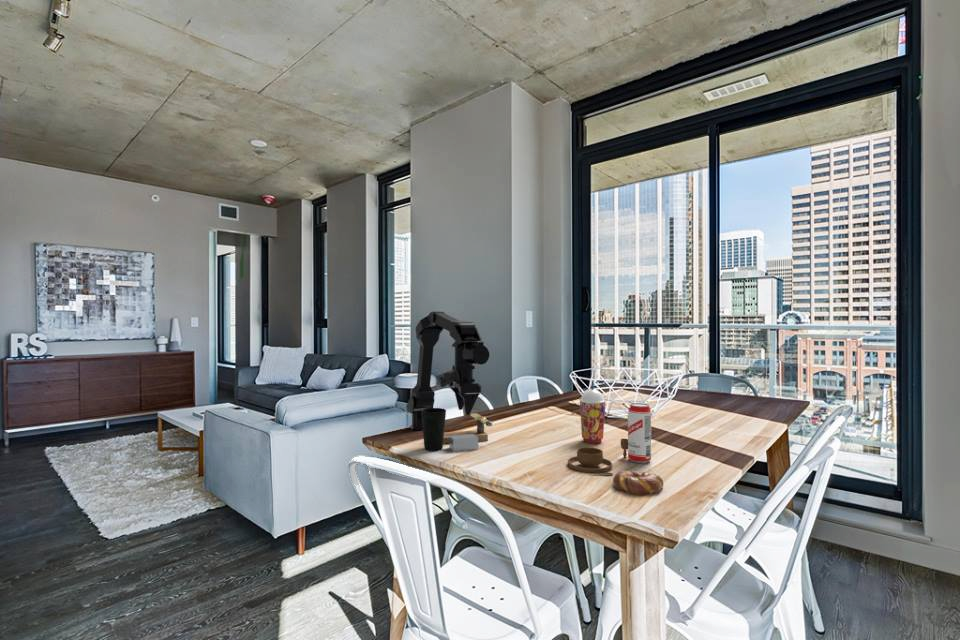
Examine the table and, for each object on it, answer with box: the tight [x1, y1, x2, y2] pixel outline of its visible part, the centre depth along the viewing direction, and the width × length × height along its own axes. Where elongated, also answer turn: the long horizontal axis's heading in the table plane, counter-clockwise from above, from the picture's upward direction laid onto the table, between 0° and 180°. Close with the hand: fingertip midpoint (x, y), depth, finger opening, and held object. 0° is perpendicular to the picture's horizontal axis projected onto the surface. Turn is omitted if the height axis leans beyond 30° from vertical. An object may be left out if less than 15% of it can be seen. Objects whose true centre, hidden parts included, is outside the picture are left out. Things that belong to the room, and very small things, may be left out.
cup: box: [421, 407, 447, 452], centre depth 148 cm, size 8×8×12 cm
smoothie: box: [579, 380, 607, 444], centre depth 157 cm, size 8×8×20 cm
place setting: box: [567, 438, 628, 477], centre depth 131 cm, size 18×20×6 cm
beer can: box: [627, 402, 652, 464], centre depth 136 cm, size 6×6×16 cm
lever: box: [470, 413, 493, 427], centre depth 160 cm, size 4×16×1 cm, turn 19°
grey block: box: [448, 434, 479, 452], centre depth 148 cm, size 4×8×4 cm, turn 110°
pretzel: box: [612, 469, 664, 496], centre depth 114 cm, size 12×11×4 cm
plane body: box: [443, 420, 489, 445], centre depth 158 cm, size 7×17×6 cm, turn 106°
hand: (463, 412), depth 148 cm, fingers open, 9 cm apart
